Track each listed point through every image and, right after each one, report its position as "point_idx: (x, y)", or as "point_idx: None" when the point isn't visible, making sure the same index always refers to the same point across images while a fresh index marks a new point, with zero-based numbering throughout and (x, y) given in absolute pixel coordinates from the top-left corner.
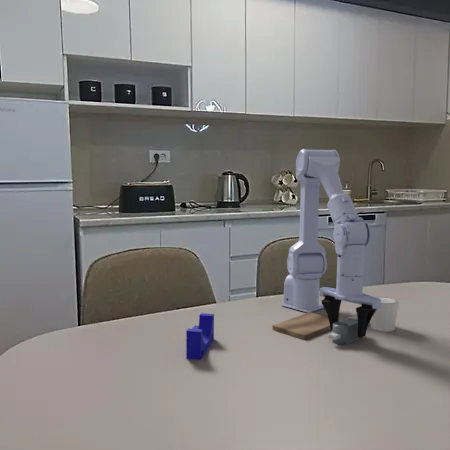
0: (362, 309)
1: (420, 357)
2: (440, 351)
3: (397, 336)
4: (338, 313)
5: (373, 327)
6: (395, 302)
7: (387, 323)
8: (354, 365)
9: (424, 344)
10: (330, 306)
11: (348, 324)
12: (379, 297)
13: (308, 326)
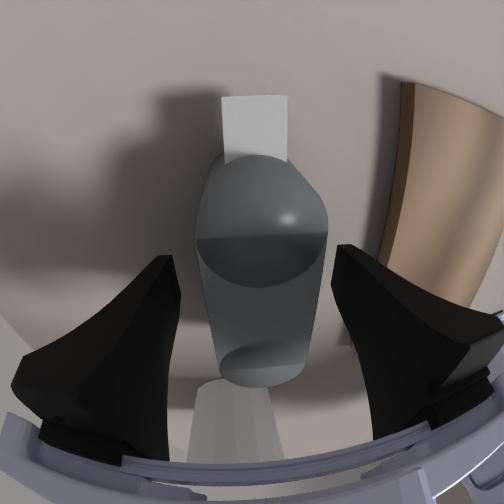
0: (19, 386)
1: (9, 285)
2: (36, 346)
3: None
4: (359, 351)
5: None
6: None
7: (199, 408)
8: (41, 26)
9: None
10: (428, 335)
11: (225, 281)
12: None
13: (446, 215)
